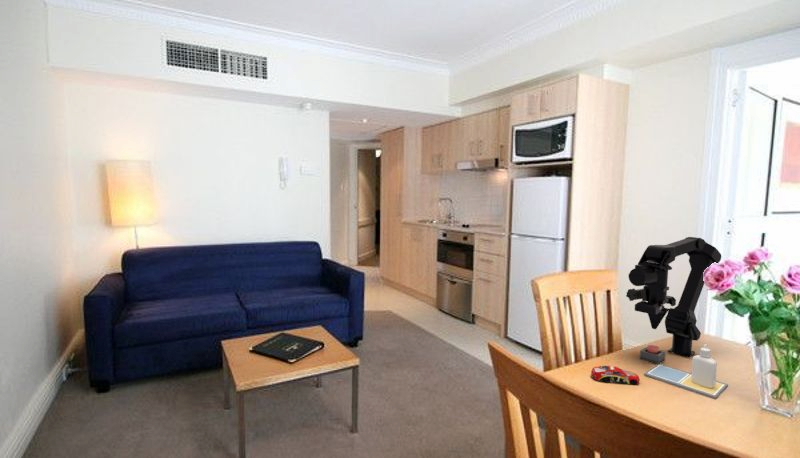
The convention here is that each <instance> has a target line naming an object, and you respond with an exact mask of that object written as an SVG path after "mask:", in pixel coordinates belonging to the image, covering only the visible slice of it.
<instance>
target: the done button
mask: <svg viewBox="0 0 800 458" xmlns="http://www.w3.org/2000/svg"><path fill="white" fill-rule="evenodd" d="M646 347H647V352H649V353H653V354H658V350H660V349H659V347H658V346H657V345H654V344H653V345H652V344H649V345H646Z"/></svg>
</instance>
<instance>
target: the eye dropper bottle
mask: <svg viewBox="0 0 800 458" xmlns="http://www.w3.org/2000/svg"><path fill="white" fill-rule="evenodd" d="M711 352H712V350H711V349H710V348H709V347H708V344H705V343H704V344H703V347H699V354H696V355H694V356H693V357H692V362H691V364H692V365H691V372H690V373H691V381H692V382H694V383H696V384H698V385H700V386H703V387H707V388H714V387H715V384H716V381H717V369H718V368H717V366H718V364H717V361H716V360H715V359H713V358H712V357H711V354H712V353H711Z"/></svg>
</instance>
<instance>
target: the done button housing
mask: <svg viewBox="0 0 800 458" xmlns="http://www.w3.org/2000/svg"><path fill="white" fill-rule="evenodd" d="M639 360H641V361H644V362H647V361H648V362H647V363H650V362H651V364H654V365H657V364H663V362H665V360H666V351H663V350H660V349H659V350H658V354H653V353H649V352H647V346H646V347H644V348H643V349H641V350H640V351H639Z"/></svg>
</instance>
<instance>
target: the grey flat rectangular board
mask: <svg viewBox="0 0 800 458" xmlns="http://www.w3.org/2000/svg"><path fill="white" fill-rule="evenodd" d="M691 373H692V372H690V371H688V372H687V371H684V370H682V369H678V368H675V367H673V366H672V367H671V366H668V365H665V364H663V363H660V364H655V366H652V368H650V369H649V370H647V371H646V372H645V373H643V376H644V377H648V378H650V379H652V380H656V381H659V382H662V383H664V384H668V385H671V386H674V387H678V388H680V389H684V390H686V391H689V392H693V393H695V394H698V395H702V396H704V397H707V398H711V399H714V400H716V399H718V398H719V397H720V396H721V394H723V392H724V391H725V390H726V389H727V388H728V387H729V384H727V383H724V382H721V381H718V380H716V384H715V387H714V388H707V387H703V386H700V385H698V384H696V383H694V382H692V381H691Z"/></svg>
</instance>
